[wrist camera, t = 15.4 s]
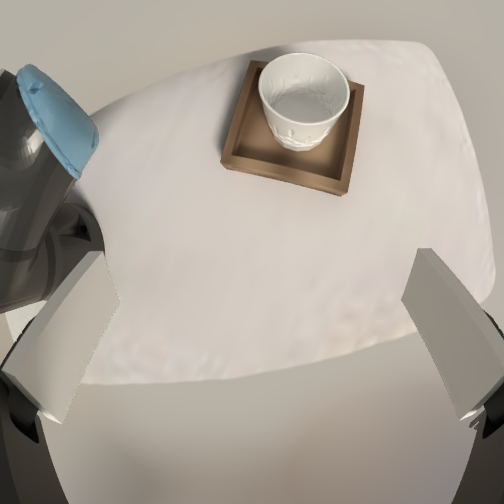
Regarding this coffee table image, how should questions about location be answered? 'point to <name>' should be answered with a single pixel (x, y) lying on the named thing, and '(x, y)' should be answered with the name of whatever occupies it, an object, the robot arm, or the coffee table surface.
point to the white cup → (302, 98)
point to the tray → (285, 160)
